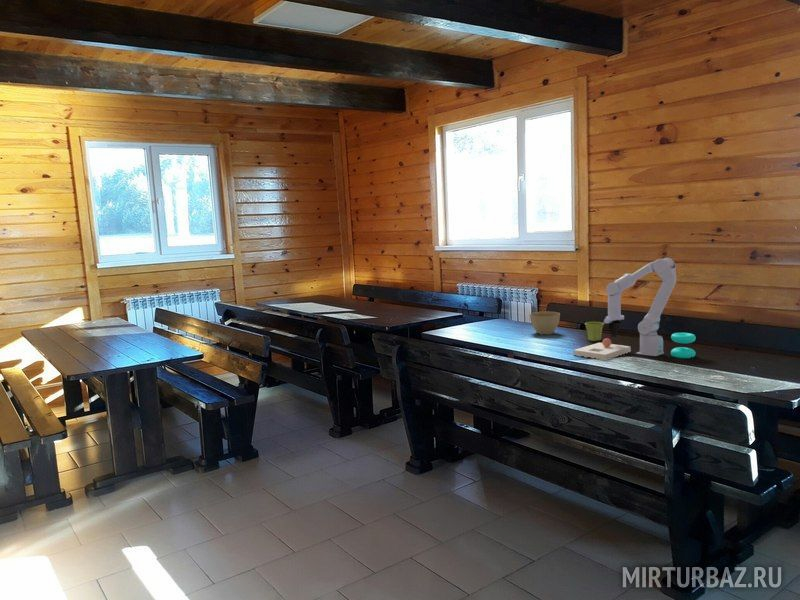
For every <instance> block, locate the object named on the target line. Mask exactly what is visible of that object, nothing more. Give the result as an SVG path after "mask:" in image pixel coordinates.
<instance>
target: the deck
mask: <svg viewBox="0 0 800 600" xmlns="http://www.w3.org/2000/svg"><path fill="white" fill-rule="evenodd" d="M631 349H632V348H631V346H629V345H623V344H614V343H611V345H610V346H609V347H605V346H604V345H603V344H602V342H596V343H593V344H590V345H586V346H583V347H579V348H575V349H573V356H574V355H577V356H576V357H581V356H584V357H583V358H587V357H591V358H590V359H594V358H596V359H595V360H601V359H602V360H601V361H607V360H610V359H613V358H616V357H619V355H620V356H622V354H623V355H625V353H626V354H628V352H629V353H631V351H632V350H631ZM606 359H607V360H606Z"/></svg>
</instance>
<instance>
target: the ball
mask: <svg viewBox="0 0 800 600" xmlns="http://www.w3.org/2000/svg"><path fill="white" fill-rule="evenodd" d="M601 343H602V344H603V345H604V346H605V347H609V346H610V345H611V344H612V340H611V339H610V338H608V337H607V338H604V339H603V340H602V342H601Z"/></svg>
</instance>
